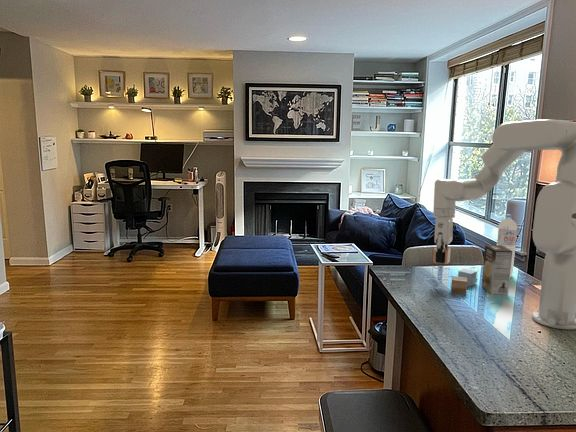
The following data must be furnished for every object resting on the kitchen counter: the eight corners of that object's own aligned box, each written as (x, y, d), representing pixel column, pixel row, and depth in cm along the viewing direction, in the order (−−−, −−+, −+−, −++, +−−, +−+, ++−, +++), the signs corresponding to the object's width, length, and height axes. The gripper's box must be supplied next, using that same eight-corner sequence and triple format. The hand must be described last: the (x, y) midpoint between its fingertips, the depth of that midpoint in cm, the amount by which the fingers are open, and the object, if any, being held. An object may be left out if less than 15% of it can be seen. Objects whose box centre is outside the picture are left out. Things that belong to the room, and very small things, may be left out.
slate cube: (470, 286, 167) (471, 273, 166) (457, 283, 170) (458, 271, 169) (475, 283, 170) (476, 271, 169) (463, 280, 174) (464, 268, 173)
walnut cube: (466, 295, 157) (467, 281, 156) (450, 293, 159) (452, 279, 158) (465, 290, 162) (466, 277, 161) (451, 289, 163) (452, 276, 163)
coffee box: (480, 286, 167) (484, 244, 164) (497, 286, 167) (501, 244, 164) (491, 294, 158) (495, 250, 155) (509, 294, 158) (513, 250, 155)
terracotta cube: (447, 264, 163) (447, 250, 162) (433, 262, 166) (433, 249, 165) (449, 261, 167) (450, 248, 167) (436, 259, 170) (436, 246, 169)
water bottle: (493, 276, 180) (499, 215, 176) (494, 271, 186) (499, 212, 182) (512, 278, 177) (518, 216, 173) (512, 274, 183) (518, 214, 179)
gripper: (450, 216, 155) (447, 267, 157) (458, 210, 169) (456, 257, 172) (428, 214, 158) (426, 264, 161) (438, 209, 173) (436, 255, 176)
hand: (441, 260), depth 166 cm, fingers closed on terracotta cube, 5 cm apart
